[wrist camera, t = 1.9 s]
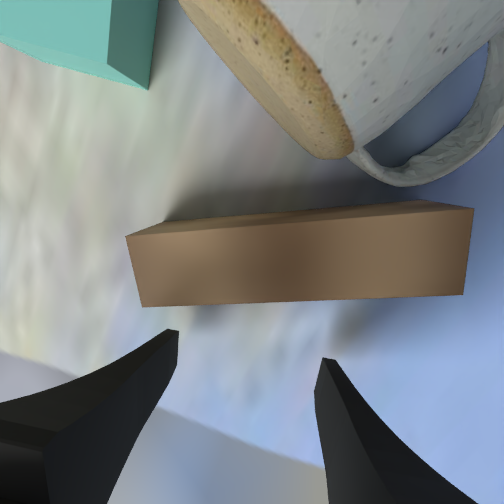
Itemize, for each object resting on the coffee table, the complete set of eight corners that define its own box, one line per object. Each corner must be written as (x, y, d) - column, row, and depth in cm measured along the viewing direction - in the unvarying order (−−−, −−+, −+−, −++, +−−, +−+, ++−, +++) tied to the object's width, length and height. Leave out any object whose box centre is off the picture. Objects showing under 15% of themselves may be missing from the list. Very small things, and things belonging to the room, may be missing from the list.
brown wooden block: (418, 199, 12) (474, 208, 8) (414, 262, 12) (462, 295, 9) (165, 221, 13) (125, 236, 10) (175, 276, 14) (142, 307, 11)
